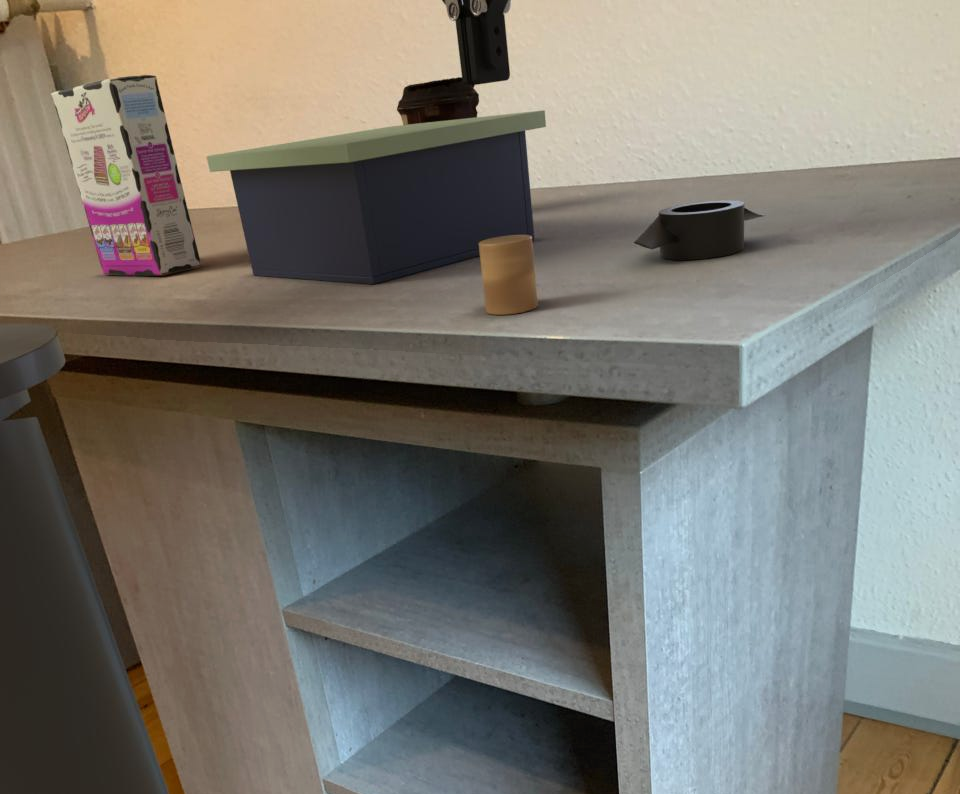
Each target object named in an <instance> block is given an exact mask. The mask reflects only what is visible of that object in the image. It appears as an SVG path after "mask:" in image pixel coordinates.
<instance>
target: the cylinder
mask: <svg viewBox="0 0 960 794" xmlns="http://www.w3.org/2000/svg"><path fill="white" fill-rule="evenodd" d="M479 253H480V256H479V262H480V270H481V271H480V272H481V279H482V287H483V296H484V305H485V312H486V314H488V315H492V316H493V315H494V316H497V315H498V316H504V315H505V316H506V315H515V314H521V313H526V312H530V311H532V310H535V309H536V308H537V307H538V306H539V302H538V290H537V280H536V279H537V277H536V268H535V266H536V265H535V256H534V245H533V241H532V236H530V235H509V236H501V237H495V238H490V239H486V240H483V241H481V242H479Z"/></svg>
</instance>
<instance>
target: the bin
mask: <svg viewBox="0 0 960 794" xmlns="http://www.w3.org/2000/svg"><path fill="white" fill-rule="evenodd" d="M527 146H528V145H527V136H526V131H520V132H515V133H509V134H504V135H498V136H493V137H487V138H482V139H476V140H471V141H465V142H460V143H454V144H449V145H443V146H438V147H432V148H427V149H421V150H416V151H410V152H405V153H399V154H393V155H388V156H382V157H377V158H371V159H366V160H360V161H355V162H348V163H333V164H319V165H304V166H289V167H274V168H260V169H245V170H230V171H229V173H230V177H231V182H232V186H233V191H234V195H235V199H236V203H237V204H236V205H237V208H238V213H239V218H240V222H241V226H242V232H243V236H244V240H245V244H246V249H247V254H248V258H249V263H250V267H251V270H252V276H257V277H269V278H271V277H272V278H282V279H283V278H285V279H287V278H288V279H299V280H311V281H312V280H313V281H324V282H325V281H326V282H339V283H353V284H367V285H376V284H377V285H378V284H380V283H385V282H388V281H391V280H396V279H399V278H402V277H405V276H410V275H414V274H416V273H421V272H424V271H428V270H431V269H435V268H439V267H443V266H446V265H450V264H454V263H457V262H461V261H465V260H468V259H472V258H476V257H480V253H479V242H481V241H483V240H486V239H490V238H495V237H501V236H509V235H530V236H532V242H535V239H536V237H535V228H534V227H535V226H534V215H533V204H532V194H531V193H532V192H531V183H530V182H531V181H530V171H529V159H528V147H527Z"/></svg>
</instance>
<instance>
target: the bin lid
mask: <svg viewBox="0 0 960 794" xmlns="http://www.w3.org/2000/svg"><path fill="white" fill-rule="evenodd" d="M546 127H547V120H546V111H545V110H543V109H542V110H534V111H525V112H524V111H523V112H515V113H505V114H497V115H495V114H494V115H486V116H477V117H476V118H466V119H457V120H447V121H438V122H428V123H419V124H409V125H403V124H401V125H392V126H391V125H390V126H385V127H379V128H373V129H367V130H359V131H353V132H348V133H347V132H346V133H342V134H335V135H329V136H324V137H317V138H309V139H305V140H298V141H291V142H285V143H279V144H274V145H273V144H272V145H267V146H260V147H254V148H247V149H241V150H236V151H229V152H223V153H216V154H211V155H210V154H209V155H207V156H206V161H207V165H208V169H209V172H210V173H213V172H230V170H245V169H260V168H274V167H289V166H304V165H319V164H333V163H348V162H355V161H360V160H366V159H371V158H377V157H382V156H388V155H393V154H399V153H405V152H410V151H416V150H421V149H427V148H432V147H438V146H443V145H449V144H454V143H460V142H465V141H471V140H476V139H482V138H487V137H493V136H498V135H504V134H509V133H515V132H520V131H525V132H526V131H532V130H536V129H543V128H546Z"/></svg>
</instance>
